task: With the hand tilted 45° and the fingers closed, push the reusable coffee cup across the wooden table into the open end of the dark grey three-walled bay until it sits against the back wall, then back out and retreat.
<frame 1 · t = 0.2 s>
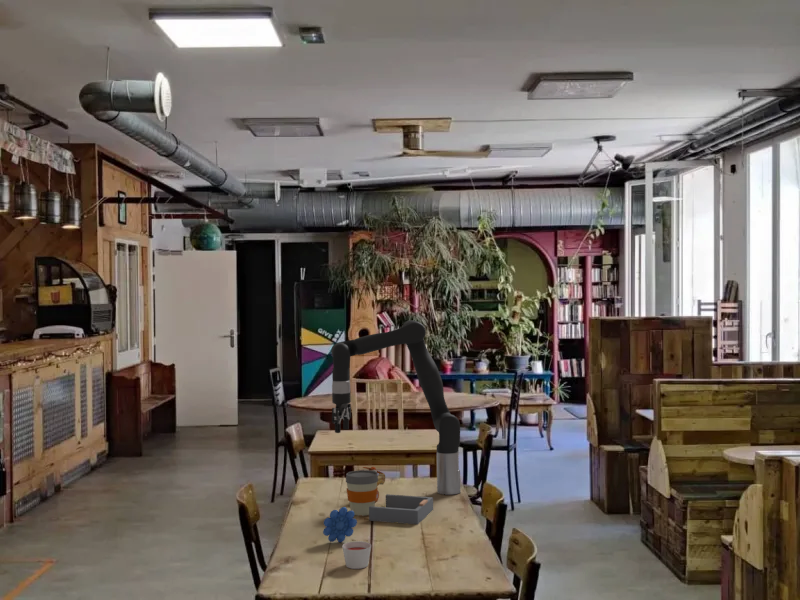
hand: (342, 431, 337), 28 cm above the table, tool pointing down, fingers open, 8 cm apart
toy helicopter: (373, 498, 341), on the table
reusable coffee cup: (362, 512, 318), on the table
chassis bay: (401, 515, 313), on the table
grapes: (340, 541, 282), on the table
candle: (357, 566, 257), on the table
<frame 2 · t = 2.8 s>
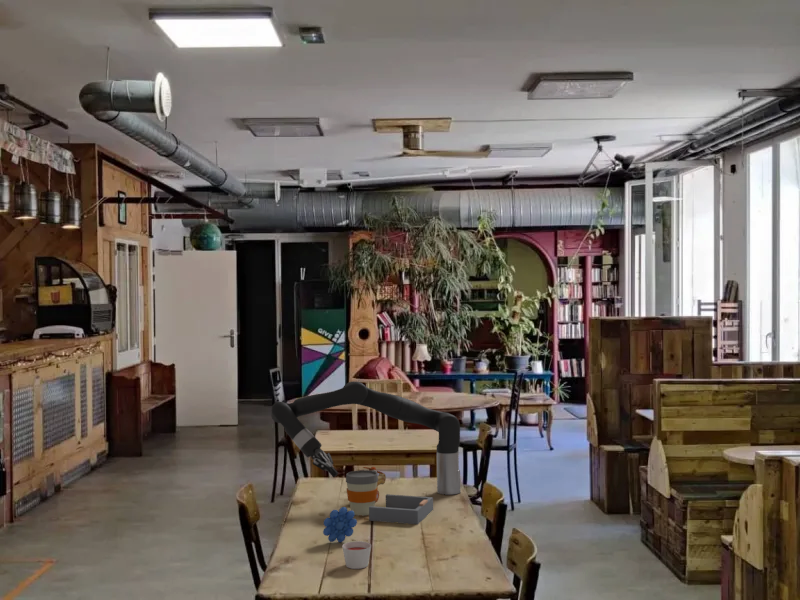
hand: (336, 475, 321), 14 cm above the table, tool tilted 45°, fingers closed
nothing on the table moved.
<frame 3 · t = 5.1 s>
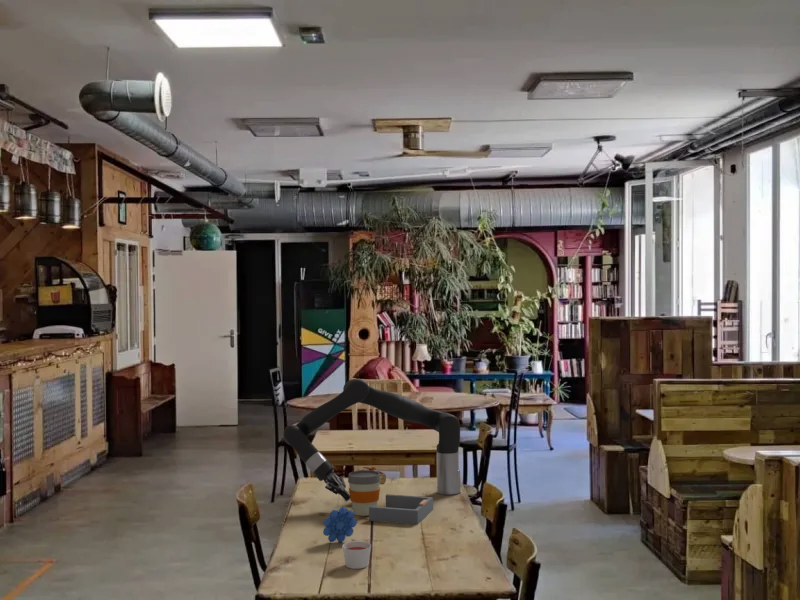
hand: (348, 499, 320), 5 cm above the table, tool tilted 45°, fingers closed
reusable coffee cup: (364, 512, 318), on the table, touching gripper
everything else where it was.
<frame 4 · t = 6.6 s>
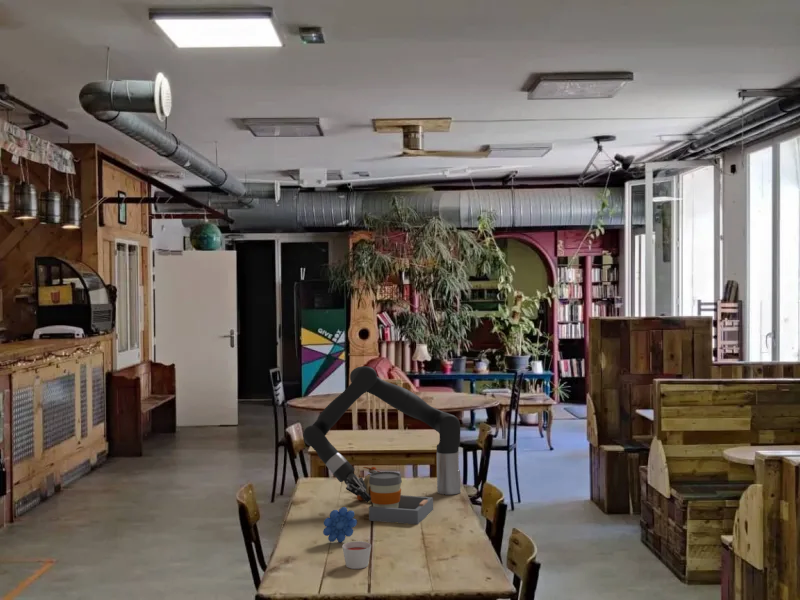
hand: (369, 500, 317), 5 cm above the table, tool tilted 45°, fingers closed
reusable coffee cup: (385, 514, 315), on the table, touching gripper
everything else where it was.
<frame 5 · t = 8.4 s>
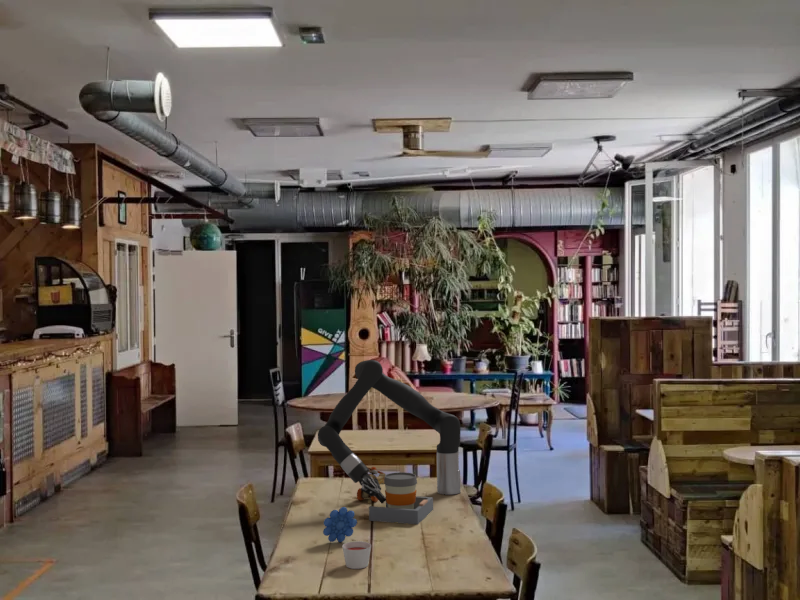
hand: (384, 501, 315), 5 cm above the table, tool tilted 45°, fingers closed
reusable coffee cup: (401, 515, 313), on the table, touching gripper
everything else where it was.
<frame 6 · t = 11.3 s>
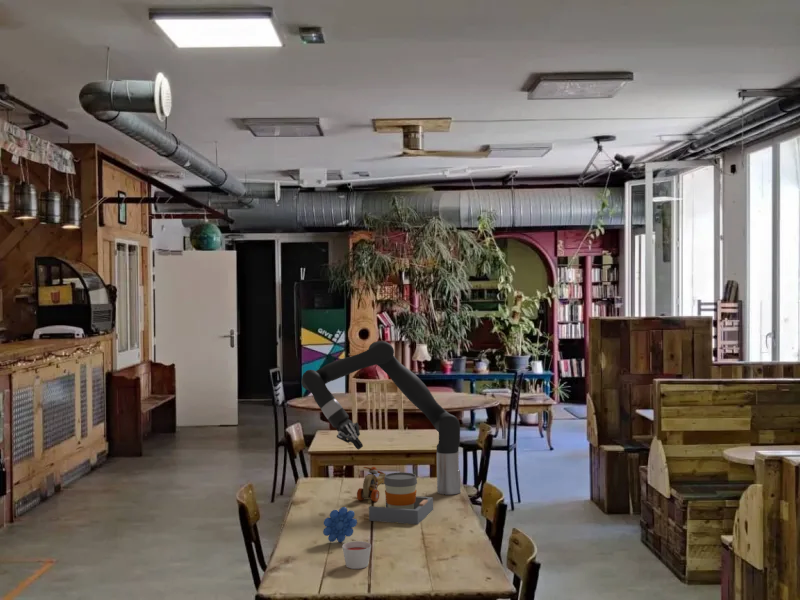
hand: (360, 447, 325), 24 cm above the table, tool tilted 40°, fingers closed
reusable coffee cup: (401, 515, 313), on the table
everything else where it was.
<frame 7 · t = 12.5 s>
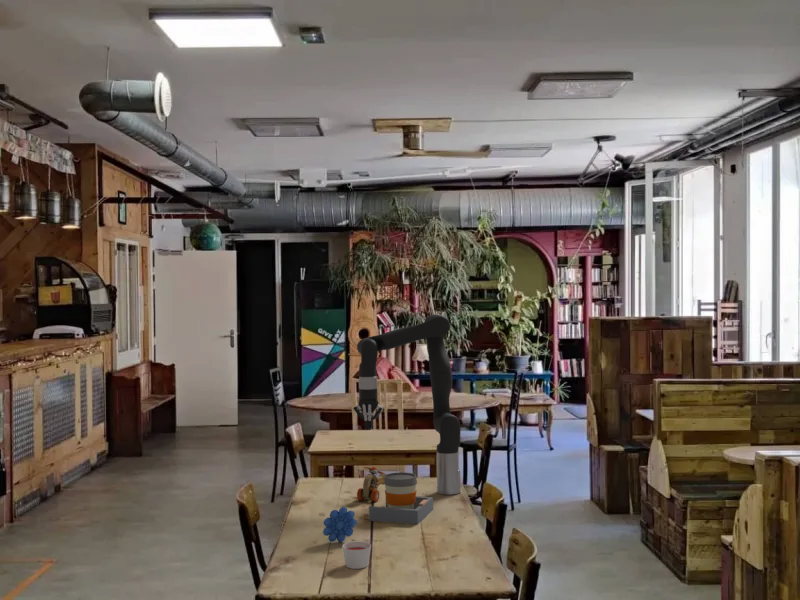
hand: (369, 429, 336), 29 cm above the table, tool pointing down, fingers closed
nothing on the table moved.
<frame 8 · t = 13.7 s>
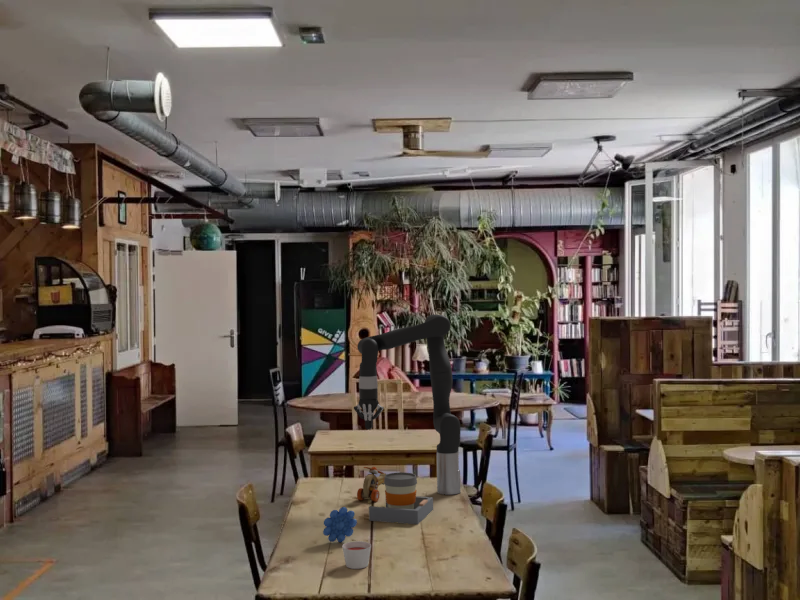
hand: (369, 429, 336), 29 cm above the table, tool pointing down, fingers closed
nothing on the table moved.
at the end: reusable coffee cup inside the target area on the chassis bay (0.4 cm from its centre), point 0.0 cm above the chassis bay's base; reusable coffee cup tilted 0°; reusable coffee cup touching table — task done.
